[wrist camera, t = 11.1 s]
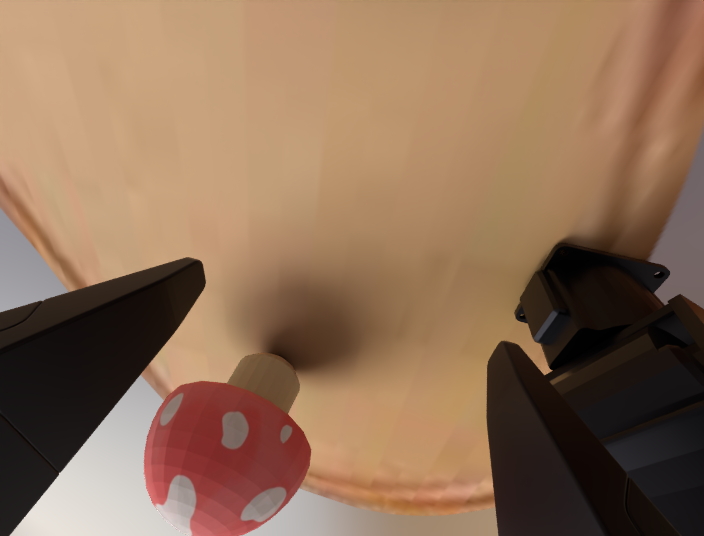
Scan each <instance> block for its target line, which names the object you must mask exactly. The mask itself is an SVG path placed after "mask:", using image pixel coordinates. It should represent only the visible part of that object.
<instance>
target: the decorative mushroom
mask: <svg viewBox="0 0 704 536" xmlns="http://www.w3.org/2000/svg"><path fill="white" fill-rule="evenodd" d="M299 389H300V383H299V380H298V378H297V375H296V373H295V371H294V368H293V367H292V366H291V365H290V363H289V362H287V361H286V360H285V359H283V358H282V357H280V356H278V355H274V354H271V353H258V354H252V355H248V356H245V357H244V358H243V359H242V360H241V361H240V362H239V364H238V366H237V367H236V369H235V371H234V372H233V374H232V376H231V377H230V379H229V381H228V382H227V384H226V383H218V382H208V381H199V382H194V383H189V384H184V385H181V386H179V387H178V388H177V389H175V390H174V391H173V392H172V393H171V394H170V395H168V396H167V398H166V399H165V401H164V402H163V403H162V405H161V406H160V408H159V409H158V411H157V413H156V416H155V417H154V419H153V421H152V424H151V427H150V430H149V433H148V436H147V441H146V447H145V455H144V477H145V482H146V488H147V491H148V493H149V496H150V498H151V501H152V503H153V504H154V506H155V507H156V509H157V510H158V512H159V513H160V514H161V516H162V517H163V519H165V520H166V521H167V522H168V523H169V524H170V525H172V526H173V527H174V528H175V529H177V530H178V531H180V532H182V533H184V534H187V535H189V536H240V535H244V534H246V533H248V532H250V531H252V530H254V529H256V528H258V527H260V526H261V525H262V524H264V523H265V522H267V521H268V520H270V519H271V518H272V517H273V516H274V515H276V514H277V513H278V512H279V511H280V510H281V509H282V508H283V507H284V506H285V505H286V504H287V503H288V502H289V501H290V499H291V498H292V497H293V496H294V494H295V493H296V492H297V490H298V489H299V487H300V485H301V483H302V482H303V480H304V478H305V476H306V473H307V471H308V468H309V466H310V457H311V448H310V445H309V443H308V441H307V439H306V436H305V434H304V432H303V431H302V429H301V428H300V427H299V426H298V425H297V424H296V423H295V422H294V420H293V419H292V418H291V417H290V416H289V415H288V412H289V410H290V408H291V406H292V404H293V402H294V400H295V398H296V396H297V394H298V392H299Z"/></svg>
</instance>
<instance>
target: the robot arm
mask: <svg viewBox="0 0 704 536" xmlns="http://www.w3.org/2000/svg"><path fill="white" fill-rule="evenodd" d="M561 250H566V251H565V252H564V253H559V252H560V251H561ZM657 272H660V273H659V274H656V275H654V274H655V273H657ZM669 275H670V271H669V270H668V269H667V268H666V267H665V266H663V265H660V264H655V263H651V262H647V261H643V260H638V259H634V258H629V257H625V256H620V255H616V254H611V253H607V252H602V251H598V250H594V249H589V248H585V247H580V246H576V245H571V244H567V243H561V244H558V245H556V246H555V247H554V248H553V250H552V251H551V253H550V254H549V256H548V258H547V259H546V261H545V263H544V264H543V266H542V268H541V269H540V270H538V271H537V272H535V274H534V276H533V277H532V279H531V281H530V282H529V284H528V286H527V287H526V289H525V291H524V292H523V294H522V296H521V297H520V304H519V306H518V307H517V309H516V310H515V313H514V314H515V317H516V319H517V320H518V321H520V322H524V323H528V325H529V328H530V331H531V334H532V337H533V339H534V341H535V342H537V343H541V346H542V349H543V352H544V355H545V357H546V360H547V363H548V366H549V368H550V369H551V370H553V371H552V372H550V373H548V374H546V375H545V376H544V374H543V373H542V372H541V371H540V370H539V369H538V367H537V366H536V365H535V364H534V363H533V361H532V360H531V359H530V358H529V357H528V356H527V354H526V353H525V352H524V351H523V350H522V348H521V347H520V346H519V345H517V344H515V343H511V342H508V341H501V342H500V343H499V344H498V345H497V347H496V349H495V350H494V352H493V354H492V355H491V357H490V359H489V361H488V365H487V429H488V439H489V449H490V459H491V468H492V478H493V488H494V497H495V507H496V516H497V527H498V536H704V309H703V308H701V307H700V306H698V305H697V304H695V303H693V302H692V301H690V300H689V299H687V298H686V297H684V296H683V295H681V294H679V295H677V296H675V297H674V298H672V299H670V300H669V301H668V303H669V304H667V305H664V304H663V303H662V302H661V301H660V299H659V298H658V297H657V296H656V295H655V294H654V292H655V291H656V290H657V289H658V288H659V287H660V286H661V284H662V283H663V282H664V281H665V280H666V279H667V278H668V276H669ZM205 284H206V280H205V274H204V268H203V264H202V262H201V261H200V260H197V259H194V258H189V257H186V258H183V259H179V260H176V261H173V262H169V263H166V264H163V265H159V266H156V267H153V268H149V269H146V270H142V271H139V272H136V273H132V274H129V275H126V276H122V277H119V278H115V279H112V280H109V281H105V282H102V283H99V284H95V285H92V286H89V287H85V288H82V289H78V290H75V291H72V292H68V293H65V294H62V295H58V296H55V297H52V298H48V299H46V300H44V301H38V302H34V303H31V304H28V305H25V306H21V307H18V308H14V309H10V310H7V311H4V312H0V536H9V535H10V534H11V533H12V532H13V531H14V529H15V528H16V527H17V525H18V524H19V523H20V522H21V521H22V519H23V518H24V517H25V516H26V515H27V513H28V512H29V511H30V510H31V509H32V507H33V506H34V505H35V504H36V502H37V501H38V500H39V499H40V498H41V496H42V495H43V494H44V493H45V491H46V490H47V489H48V488H49V487H50V485H51V484H52V483H53V482H54V480H55V479H56V478H57V477H58V475H59V473H60V472H61V471H62V470H63V469H64V468H65V466H66V465H67V464H68V463H69V462H70V460H71V459H72V458H73V457H74V455H75V454H76V453H77V452H78V451H79V449H80V448H81V447H82V446H83V444H84V443H85V442H86V441H87V439H88V438H89V437H90V436H91V434H92V433H93V432H94V431H95V430H96V428H97V427H98V426H99V425H100V424H101V422H102V421H103V420H104V418H105V417H106V416H107V415H108V414H109V413H110V411H111V410H112V409H113V408H114V406H115V405H116V404H117V403H118V401H119V400H120V399H121V398H122V397H123V395H124V394H125V393H126V392H127V390H128V389H129V388H130V387H131V385H132V384H133V383H134V382H135V381H136V379H137V378H138V377H139V376H140V374H141V373H142V372H143V371H144V370H145V368H146V367H147V366H148V365H149V363H150V362H151V361H152V360H153V358H154V357H155V356H156V355H157V354H158V352H159V351H160V350H161V349H162V347H163V346H164V345H165V344H166V343H167V341H168V340H169V339H170V338H171V336H172V335H173V334H174V333H175V331H176V330H177V329H178V327H179V326H180V324H181V323H182V322H183V320H184V319H185V317H186V316H187V314H188V312H189V311H190V309H191V308H192V306H193V305H194V303H195V302H196V300H197V299H198V297H199V296H200V294H201V293H202V291H203V289H204V287H205ZM521 314H525V315H523V316H520V315H521Z"/></svg>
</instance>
